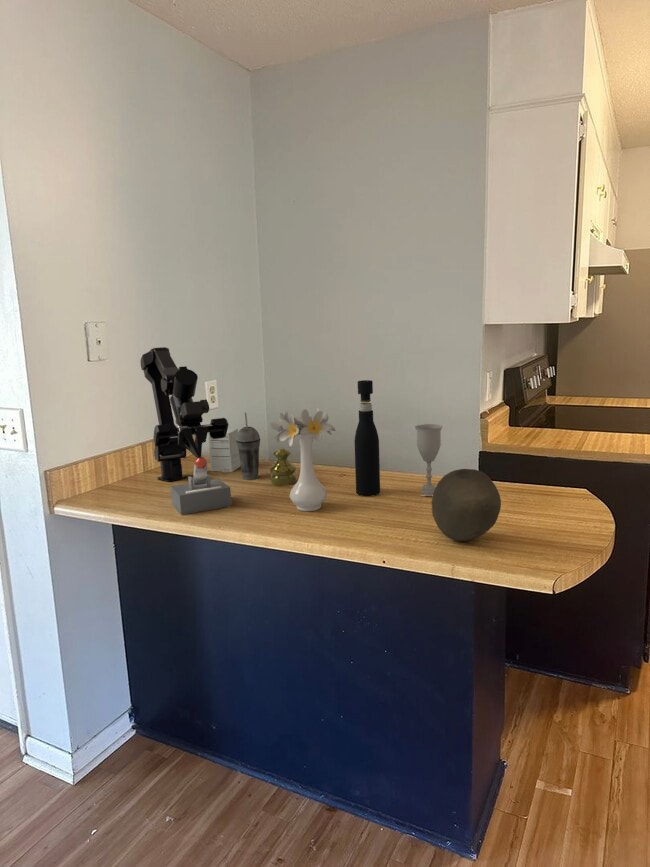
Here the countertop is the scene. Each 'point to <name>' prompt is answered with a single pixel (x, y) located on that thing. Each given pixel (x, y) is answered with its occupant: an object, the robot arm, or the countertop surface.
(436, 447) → the chalice
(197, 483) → the switch lever
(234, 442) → the supplement box
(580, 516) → the countertop surface
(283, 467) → the salt shaker
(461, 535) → the dark brown ball
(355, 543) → the countertop surface
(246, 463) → the beverage cup
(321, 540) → the countertop surface
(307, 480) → the flower vase
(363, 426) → the black bottle
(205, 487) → the switch box
